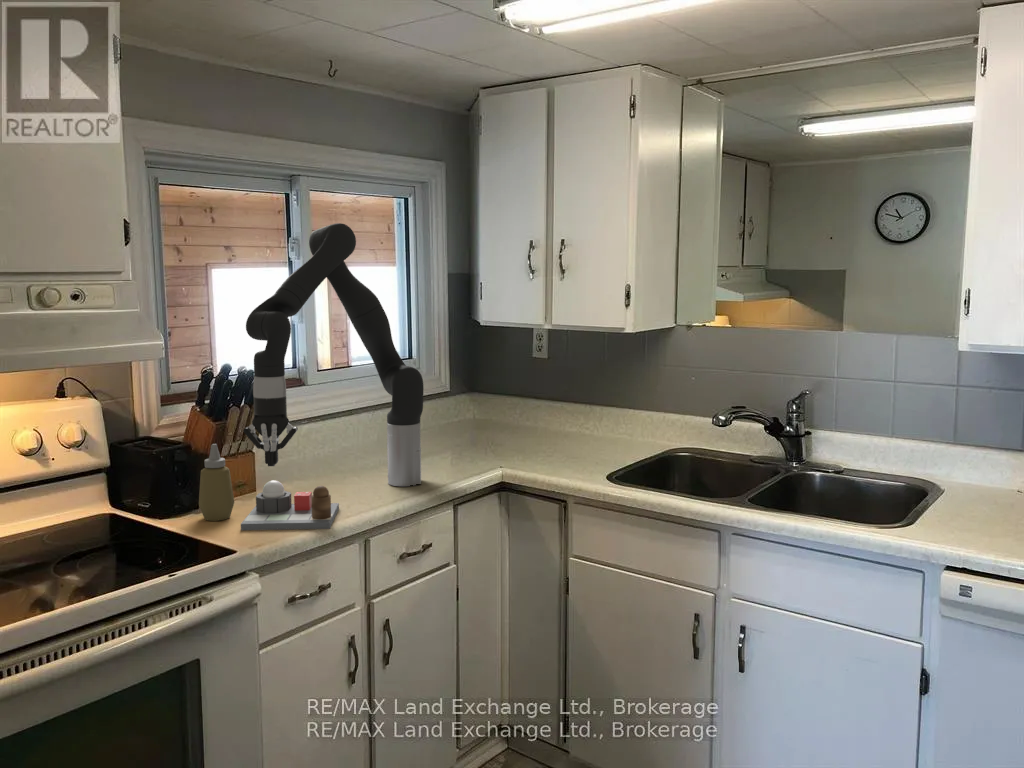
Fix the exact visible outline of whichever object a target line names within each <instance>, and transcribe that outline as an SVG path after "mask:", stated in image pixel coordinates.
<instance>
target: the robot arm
mask: <svg viewBox="0 0 1024 768" xmlns="http://www.w3.org/2000/svg"><path fill="white" fill-rule="evenodd" d="M308 246H309V251H310V252H311V255H312V256H311V257H310V258H309V259H308V260H307V261H306V262H304V263H303V264H302V265H301V266H300V267H299V268H297V269H296V270H295V271H294V272H292V273H291V274H290V275H289V276H288V277H287V278H286V279H285V280H284V281H283V282H282V284H280V286H279V288H278V289H277V290H276V291H275V293H274V294H273V295H272V296H269V298H267V299H266V300H264V301H262V302H261V303H260V304H259V305H258V306H257V307H255V308H254V309H253V310H252V311H251V312H250V313H249V315H248V317H247V319H246V322H245V330H246V333H247V335H248V336H249V337H250V338H251V339H253V340H256V341H267V342H266V345H265V348H264V350H259V351H258V352H256V353H255V354H254V357H253V376H254V377H253V387H252V389H253V390H252V395H253V418H252V421H251V424H249V426H246V427H244V428H243V433H244V434H245V435H246V437H247V438H248V439H249V441H251V443H252V444H253V445H254V446H255V447H256V448H257V449H258V450H259V449H260V450H263V451H264V462H265V465H267V467H276V465H277V464H278V462H279V450H282V449H284V448H285V447H286V445H287V444H288V443H289V442H290V440H291V439H292V438H293V437H294V436H295V434H296V433H297V432H298V431H299V430H298V427H297V426H294V425H292V424H291V423H290V420H289V418H288V412H287V382H286V376H285V375H286V374H285V373H286V372H285V366H286V365H285V359H286V358H285V357H286V353H287V349H288V346H289V342H290V338H291V333H292V325H291V321H290V319H289V318H290V317H293V316H295V315H297V314H298V313H299V312H300V310H301V309H302V308H303V306H304V305H305V304H306V303H307V301H308V300H309V299H310V298H311V296H312V295H313V294H314V292H315V291H316V290H317V289H318V287H319V286H321V284H322V283H323V282H324V280H325V279H327V280H328V282H329V283H330V285H331V287H332V288H333V290H334V292H335V294H336V295H337V298H338V299H339V301H340V303H341V304H342V306H343V308H344V310H345V312H346V315H347V316H348V318H349V320H350V322H351V324H352V326H353V328H354V329H355V332H356V333H357V335H358V336H359V338H360V341H361V342H362V344H363V346H364V347H365V349H366V350H367V352H368V354H369V356H370V357H371V360H372V361H373V363H374V367H375V369H376V371H377V373H378V377H379V379H380V381H381V384H382V386H383V388H384V390H385V391H386V392H387V393H388V395H389V396H390V395H391V409H390V411H388V412H387V415H386V431H387V432H386V435H387V439H386V440H387V443H386V444H387V448H386V449H387V484H388V485H389V486H395V487H411V486H410V485H413V486H417V485H416V484H421V485H422V447H421V446H422V445H421V416H422V414H423V409H424V388H425V387H424V380H423V376H422V374H421V372H420V371H419V370H418V369H417V368H415V367H413V366H410V365H409V366H408V365H406V364H405V362H404V361H403V359H402V357H401V356H400V354H399V352H398V350H397V348H396V347H395V344H394V340H393V337H392V330H391V325H390V322H389V318H388V316H387V313H386V311H385V310H384V307H383V306H382V304H381V302H380V300H379V298H378V297H377V295H376V294H375V293H374V292H373V291H372V290H371V289H370V288H368V286H366V285H365V284H364V283H362V282H361V281H360V280H358V278H357V277H356V276H354V275H353V273H352V272H351V271H350V269H349V267H348V265H347V263H346V262H345V261H346V259H347V258H349V257H350V256H352V254H353V252H355V250H356V246H357V238H356V235H355V233H354V230H353V229H352V228H351V227H350V226H348V225H347V224H346V223H342V222H341V223H339V222H337V223H333V224H329V225H325V226H322V227H321V228H318V229H315V230H313V231H312V232H311V233H310V234H309V237H308ZM285 429H286V430H285ZM256 431H257V432H258V434H259V435H260V436H261V438H262V440H261V438H260V437H259V435H257V433H256ZM285 431H286V432H285ZM283 432H285V433H286V436H285V437H284V438H283V440H281V442H279V440H280V436H281V435H282V434H283Z"/></svg>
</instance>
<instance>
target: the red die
mask: <svg viewBox="0 0 1024 768" xmlns="http://www.w3.org/2000/svg"><path fill="white" fill-rule="evenodd" d="M312 495H313V492H312V491H296V492H295V494H294V496H293V504H294V509H295V510H310V509H311V507H312V500H311V496H312Z"/></svg>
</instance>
